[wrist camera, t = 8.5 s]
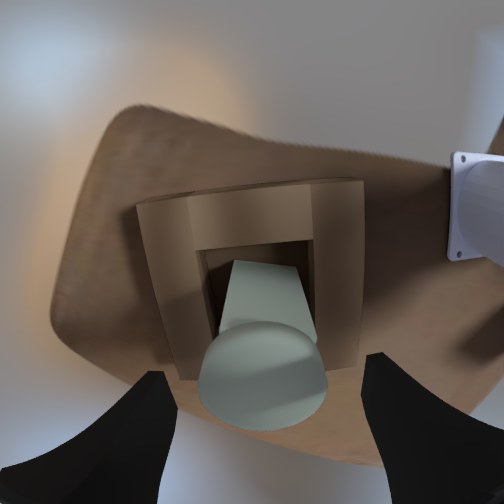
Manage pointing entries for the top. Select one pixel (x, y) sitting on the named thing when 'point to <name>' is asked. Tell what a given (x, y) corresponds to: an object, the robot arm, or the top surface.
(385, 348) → the top surface
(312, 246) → the walnut holder
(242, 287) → the green peg
